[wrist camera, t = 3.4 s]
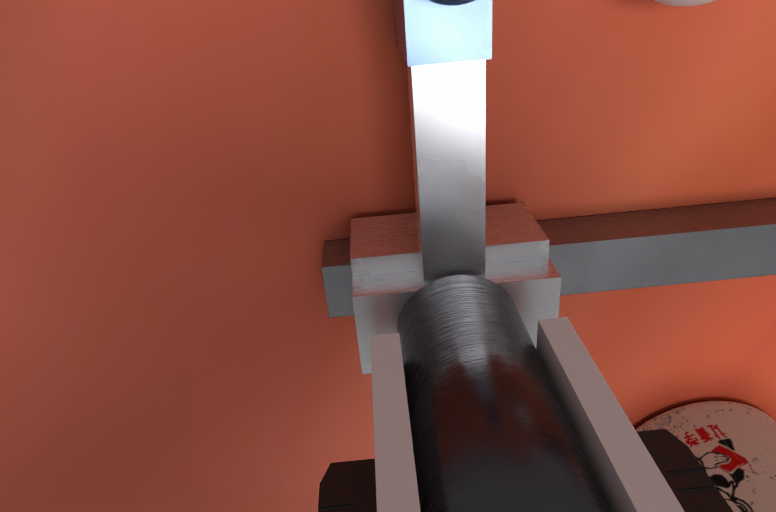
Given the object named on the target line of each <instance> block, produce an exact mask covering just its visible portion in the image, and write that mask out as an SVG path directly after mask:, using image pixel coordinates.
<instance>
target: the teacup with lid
mask: <svg viewBox="0 0 776 512" xmlns="http://www.w3.org/2000/svg"><path fill="white" fill-rule="evenodd" d="M658 429H667V430H668V431H669V432H671V433H672V434H673V435H674V436H676V437H677V438H678V439H679V440H681V441H682V442H683V443H685V444H686V445H687V446H688V447H689V448H690V450H691V451H692V453H693V454H694V456H695V457H696V458H697V460H698V461H699V463H700V464H701V466H702V467H703V471H704V472H706V473H707V474H708V476H709V477H710V479H711V480H712V482H713V483H714V484H715V488H716V490H719V492H720V493H721V495H722V496H723V497H724V499H725V500H726V502H727V503H728V505H729V506H730V508H731V509H732V510H733V512H776V421H774V420H773V419H772V418H771V417H770V416H769V415H767V414H766V413H764V412H763V411H761V410H759V409H756V408H754V407H752V406H749V405H746V404H742V403H737V402H730V401H706V402H698V403H692V404H688V405H684V406H681V407H677V408H674V409H671V410H669V411H666V412H664V413H662V414H660V415H657V416H656V417H654V418H652V419H650V420H648V421H647V422H645V423H643V424H642V425H640V426H639V427H638V428H636V429H635V430H636V432H637V431H648V430H658Z"/></svg>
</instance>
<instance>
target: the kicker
mask: <svg viewBox="0 0 776 512" xmlns="http://www.w3.org/2000/svg"><path fill="white" fill-rule="evenodd" d="M393 4H394V19H395V33H396V45H397V47H398V49H399V51H400V53H401V55H402V57H403V59H404V60H405V62H406V64H407V73H408V89H409V105H410V122H411V138H412V154H413V170H414V186H415V203H416V212H415V213H405V214H394V215H384V216H373V217H363V218H352V219H351V241H350V262H351V270H352V301H353V308H354V316H355V323H356V331H357V339H358V346H359V354H360V362H361V369H362V374H369V373H372V371H371V345H370V336H373V335H383V334H394V333H399V334H400V342H401V351H402V359H403V368H404V376H405V385H406V393H407V401H408V410H409V418H410V427H411V435H412V443H413V452H414V460H415V469H416V477H417V485H418V494H419V502H420V511H421V512H613V511H612V509H611V507H610V505H609V503H608V501H607V499H606V497H605V494H604V492H603V490H602V488H601V486H600V484H599V482H598V480H597V477H596V475H595V473H594V471H593V469H592V467H591V465H590V463H589V460H588V458H587V456H586V454H585V452H584V450H583V448H582V446H581V444H580V441H579V439H578V437H577V435H576V433H575V431H574V429H573V427H572V424H571V422H570V420H569V418H568V416H567V414H566V412H565V410H564V407H563V405H562V403H561V401H560V399H559V397H558V395H557V393H556V390H555V388H554V386H553V384H552V382H551V380H550V378H549V376H548V373H547V371H546V369H545V367H544V365H543V363H542V361H541V359H540V356H539V354H538V352H537V350H536V345H537V327H538V319H548V318H558V315H559V302H560V288H561V276H560V274H559V273H558V271H557V270H556V268H555V267H554V265H553V264H552V262H551V261H550V259H549V258H548V256H549V239H548V237H547V236H546V234H545V233H544V232H543V230H542V229H541V227H540V226H539V225H538V223H537V222H536V220H535V219H534V217H533V216H532V215H531V213H530V212H529V210H528V209H527V208H526V206H525V205H524V203H523V202H521V203H510V204H500V205H489V206H485V203H486V59H492V0H393Z"/></svg>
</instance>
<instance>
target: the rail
mask: <svg viewBox="0 0 776 512" xmlns="http://www.w3.org/2000/svg"><path fill="white" fill-rule="evenodd" d="M536 222H537V223H538V225H539V226H540V227H541V229H542V230H543V232H544V233H545V234H546V236H547V237H548V239H549V256H548V258H549V259H550V261H551V262H552V264H553V265H554V267H555V268H556V270H557V271H558V273H559V274H560V276H561V288H560V295H569V294H579V293H590V292H600V291H610V290H621V289H631V288H641V287H652V286H662V285H673V284H683V283H693V282H704V281H714V280H725V279H735V278H745V277H756V276H766V275H776V198H771V199H760V200H750V201H739V202H729V203H718V204H708V205H697V206H687V207H676V208H666V209H655V210H645V211H634V212H624V213H613V214H603V215H592V216H582V217H571V218H561V219H550V220H540V221H536ZM350 241H351V239H340V240H330V241H324V250H323V259H322V267H321V268H322V274H323V280H324V287H325V293H326V299H327V306H328V312H329V318H330V317H340V316H351V315H354V308H353V301H352V270H351V262H350Z"/></svg>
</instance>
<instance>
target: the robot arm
mask: <svg viewBox="0 0 776 512" xmlns="http://www.w3.org/2000/svg"><path fill="white" fill-rule="evenodd" d="M370 345H371V371H372V397H373V423H374V449H375V459H367V460H357V461H347V462H337V463H331V464H330V466H329V468H328V470H327V471H326V473H325V475H324V477H323V479H322V481H321V483H320V489H319V504H318V512H421V511H420V502H419V494H418V485H417V477H416V469H415V460H414V452H413V443H412V435H411V427H410V418H409V410H408V401H407V393H406V385H405V376H404V368H403V359H402V351H401V342H400V334H399V333H394V334H383V335H373V336H370ZM536 350H537V352H538V354H539V356H540V359H541V361H542V363H543V365H544V367H545V369H546V371H547V373H548V376H549V378H550V380H551V382H552V384H553V386H554V388H555V390H556V393H557V395H558V397H559V399H560V401H561V403H562V405H563V407H564V410H565V412H566V414H567V416H568V418H569V420H570V422H571V424H572V427H573V429H574V431H575V433H576V435H577V437H578V439H579V441H580V444H581V446H582V448H583V450H584V452H585V454H586V456H587V458H588V460H589V463H590V465H591V467H592V469H593V471H594V473H595V475H596V477H597V480H598V482H599V484H600V486H601V488H602V490H603V492H604V494H605V497H606V499H607V501H608V503H609V505H610V507H611V509H612V511H613V512H733V510H732V509H731V508H730V506H729V505H728V503H727V502H726V500H725V499H724V497H723V496H722V495H721V493H720V492H719V490H716V488H715V484H714V483H713V482H712V480H711V479H710V477H709V476H708V474H707V473H706V472H704V471H703V467H702V466H701V464H700V463H699V461H698V460H697V458H696V457H695V456H694V454H693V453H692V451H691V450H690V448H689V447H688V446H687V445H686V444H685V443H683V442H682V441H681V440H679V439H678V438H677V437H676V436H674V435H673V434H672V433H671V432H669V431H668V430H667V429H658V430H648V431H637V432H636V430H635V429H634V427H633V425H632V424H631V422H630V420H629V419H628V417H627V415H626V414H625V412H624V410H623V409H622V407H621V405H620V404H619V402H618V400H617V399H616V397H615V395H614V394H613V392H612V390H611V389H610V387H609V385H608V384H607V382H606V381H605V379H604V377H603V376H602V374H601V372H600V371H599V369H598V367H597V366H596V364H595V362H594V361H593V359H592V357H591V356H590V354H589V352H588V351H587V349H586V347H585V346H584V344H583V342H582V341H581V339H580V337H579V336H578V334H577V332H576V331H575V329H574V327H573V326H572V324H571V322H570V321H569V319H568V318H567V317H559V318H548V319H538V327H537V345H536Z"/></svg>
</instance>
